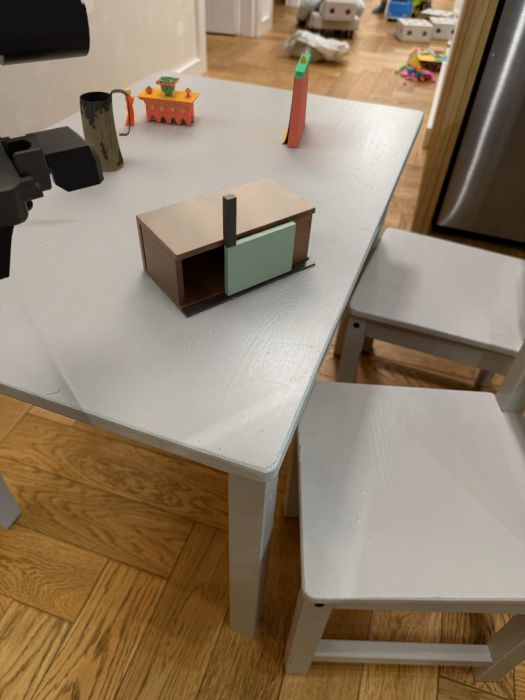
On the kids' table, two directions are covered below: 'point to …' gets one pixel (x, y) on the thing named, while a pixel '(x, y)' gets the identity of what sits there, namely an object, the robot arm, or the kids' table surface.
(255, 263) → the sliding door
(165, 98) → the building blocks
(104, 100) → the mug
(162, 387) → the kids' table surface
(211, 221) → the cabinet
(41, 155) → the robot arm
